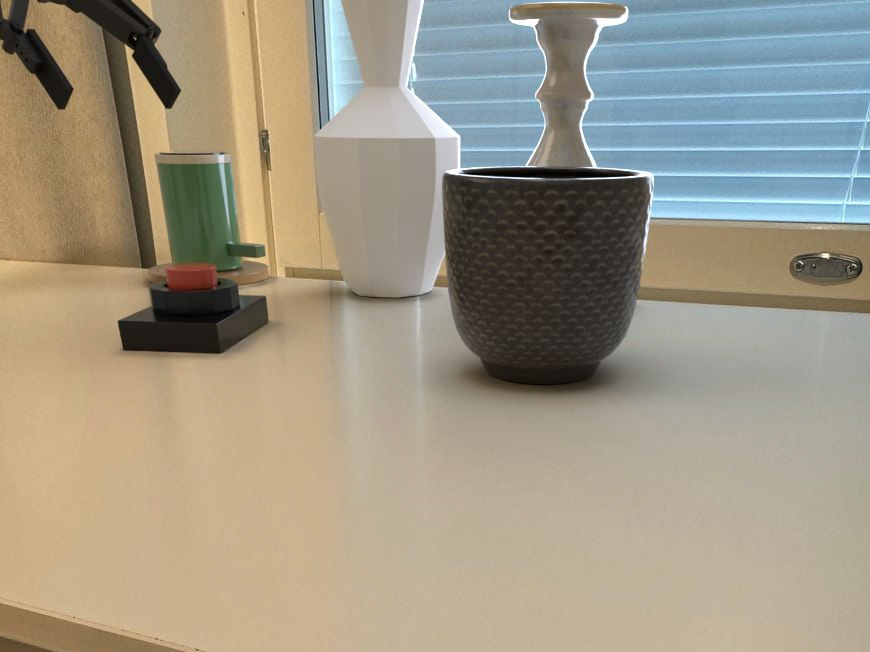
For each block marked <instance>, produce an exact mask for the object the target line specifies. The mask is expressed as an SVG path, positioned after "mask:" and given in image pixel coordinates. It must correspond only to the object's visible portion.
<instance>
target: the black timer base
mask: <svg viewBox="0 0 870 652" xmlns="http://www.w3.org/2000/svg"><path fill="white" fill-rule="evenodd" d="M217 279H218V286H216V287H210V288H202V289H172V288H168V286H167V280H163V281H157V282H155V283H152V282H151V283H150V284H148V285H147V288H148V294H149V295H148V296H149V301H150V305H149V306H148V307H145V308H143V309H141V310H139V311H137V312H134V313H132V314H130V315H127V316H125V317H123V318H121V319H119V320H117V326H118V331H119V336H120V337H119V338H120V341H121V346H122V349H123V350H124V351H125V350H126V351H128V350H129V351H153V352H154V351H156V352H181V353H182V352H185V353H210V354H211V353H212V354H220V353H222V352H224V351H226V350H227V349H228V348H230V347H232V346H233V345H235V344H237V343H238V342H239V341H241V340H243V339H244V338H246V337H247V336H248V335H250V334H252V333H253V332H255V331H256V330H258V329H259V328H261V327H263V326H264V325H266V324H267V323H269V322H270V318H269V310H268V309H269V308H268V301H267V296H266V295H253V294H251V295H250V294H240V292H239V285H238V284H237V283H236V282H235V281H234V280H230V279H224V278H217Z"/></svg>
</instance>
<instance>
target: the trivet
mask: <svg viewBox="0 0 870 652" xmlns="http://www.w3.org/2000/svg"><path fill="white" fill-rule="evenodd" d="M169 265H172V262H168V263H162V264H158V265H154V266H152V267H149V268H148V269H147V275H148V280H149V282H150V283H151V284H152V283H155V282H157V281H163V280H166V274H165V267H166V266H169ZM269 277H270V271H269V265H268V264H267V263H263V262H259V261H255V260H245V259H243V266H242V267H239V268H235V269H230V270H221V271H217V278H224V279H230V280H234V281H235V282H236V283H237V284H238V286H244V285H249V284H254V283H258V282H262V281H265V280H268V278H269Z"/></svg>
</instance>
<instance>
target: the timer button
mask: <svg viewBox="0 0 870 652" xmlns="http://www.w3.org/2000/svg"><path fill="white" fill-rule="evenodd" d="M165 274H166V280H167V286H168V288H172V289H202V288H210V287H216V286H218V279H217V271H216V266H215V265H212V264H206V263H184V264H175V265H169V266H166V267H165Z"/></svg>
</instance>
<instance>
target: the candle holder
mask: <svg viewBox="0 0 870 652" xmlns="http://www.w3.org/2000/svg"><path fill="white" fill-rule="evenodd" d="M508 17H509V18H508V19H509V21H510V22H511V23H514V24H516V25H521V26H529V27H532V28H533V29H534V32H535V35H536V36H535V37H536V42H537V45H538V46H539V48H540V49H541V52H542V53H543V56H544V62H545V74H544V77H543V80H542V82H541V84H540V87H539V88H538V89H537V90H536V92H535V99H536V100H537V101H538V102H539V105H540V106H539V107H540V110H541V112H542V115H543V120H544V129H543V132H542V134H541V137H540V139H539V141H538V144H537V145H536V147H535V149H534V151H533V152H532V154H531V156H530V157H529V159H528V161H527V162H526V165H525V166H558V167H593V168H598V167H597V163H596V162H595V160H594V158H593V155H592V154H591V151H590V149H589V147H588V145H587V143H586V139H585V137H584V133H583V129H582V124H583V123H582V122H583V118H584V116H585V113H586V111H587V110H588V107H589V103H590V102H591V101H593V99H594V96H595V94H594V92H593V90H592V88H591V86H590V85H589V81H588V79H587V74H586V69H587V61H588V58H589V56H590V53H591V52H592V50H593V49H594V48H595V46H596V45H597V42H598V40H599V34H600V32H601V30H602V28H603V27H607V26H615V25H620V24H623V23H625V22H626V21H627V19H628V17H629V9H628V7H627V6H625V5H621V4H616V3H608V2H605V3H604V2H592V1H590V2H589V1H552V2H551V1H549V2H548V1H547V2H531V3H524V4H523V3H522V4H517V5H513V6H511V7H510V8H509V11H508Z"/></svg>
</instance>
